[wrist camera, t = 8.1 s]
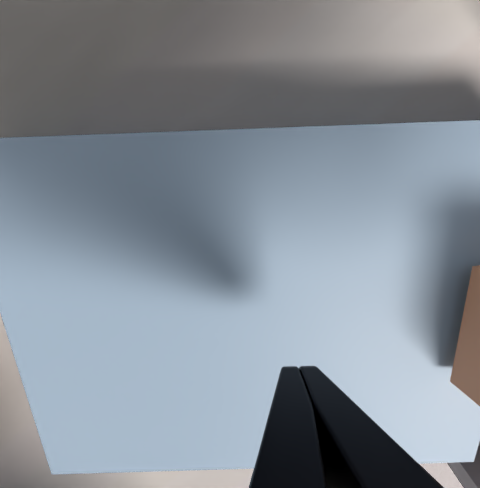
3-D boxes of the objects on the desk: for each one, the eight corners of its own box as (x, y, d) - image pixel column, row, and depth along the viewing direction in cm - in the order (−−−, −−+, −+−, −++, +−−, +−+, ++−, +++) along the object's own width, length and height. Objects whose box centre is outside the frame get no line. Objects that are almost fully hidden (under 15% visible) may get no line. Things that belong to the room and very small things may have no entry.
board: (438, 416, 13) (473, 461, 11) (79, 427, 13) (51, 474, 11) (502, 124, 9) (570, 116, 7) (5, 142, 9) (-55, 139, 7)
